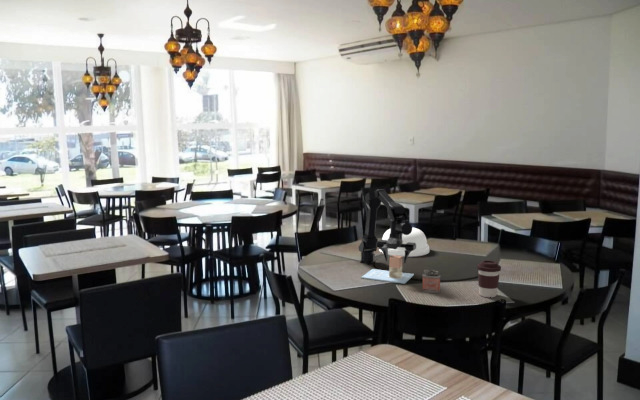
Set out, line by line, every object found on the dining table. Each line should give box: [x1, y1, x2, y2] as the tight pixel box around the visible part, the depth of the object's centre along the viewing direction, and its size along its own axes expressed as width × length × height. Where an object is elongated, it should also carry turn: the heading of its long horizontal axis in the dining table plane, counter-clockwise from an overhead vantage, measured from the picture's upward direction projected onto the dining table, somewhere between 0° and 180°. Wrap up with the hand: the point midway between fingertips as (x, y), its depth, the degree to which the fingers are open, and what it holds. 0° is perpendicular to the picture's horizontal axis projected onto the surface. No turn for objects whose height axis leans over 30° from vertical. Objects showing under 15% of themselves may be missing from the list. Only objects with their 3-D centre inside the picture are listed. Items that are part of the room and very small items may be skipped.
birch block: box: [388, 265, 403, 278], centre depth 257 cm, size 5×5×5 cm
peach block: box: [388, 255, 403, 268], centre depth 256 cm, size 5×5×5 cm
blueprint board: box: [360, 268, 415, 285], centre depth 259 cm, size 22×16×1 cm
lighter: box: [421, 269, 442, 294], centre depth 235 cm, size 8×3×10 cm, turn 71°
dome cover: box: [378, 226, 430, 258], centre depth 312 cm, size 32×30×14 cm
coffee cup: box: [476, 259, 502, 298], centre depth 229 cm, size 10×10×15 cm
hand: (395, 262), depth 256 cm, fingers open, 9 cm apart
